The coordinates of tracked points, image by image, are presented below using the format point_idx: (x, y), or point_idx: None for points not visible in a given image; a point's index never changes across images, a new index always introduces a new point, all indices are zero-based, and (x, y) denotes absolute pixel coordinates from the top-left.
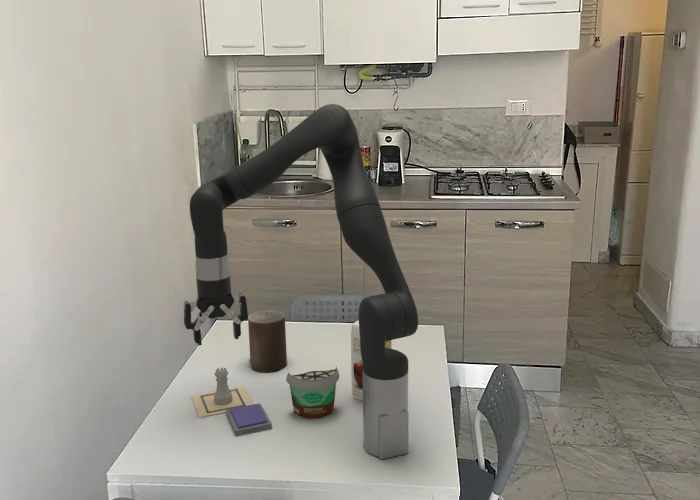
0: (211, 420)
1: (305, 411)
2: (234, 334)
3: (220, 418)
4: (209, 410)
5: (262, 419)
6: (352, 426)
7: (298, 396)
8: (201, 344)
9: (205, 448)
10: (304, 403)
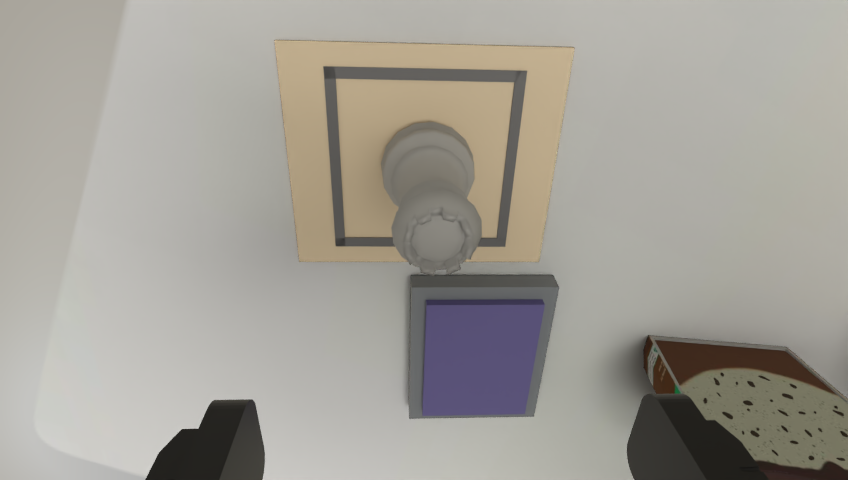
0: (346, 292)
1: None
2: (656, 457)
3: (383, 290)
4: (349, 227)
5: (513, 404)
6: None
7: None
8: (261, 475)
9: (304, 427)
10: None
